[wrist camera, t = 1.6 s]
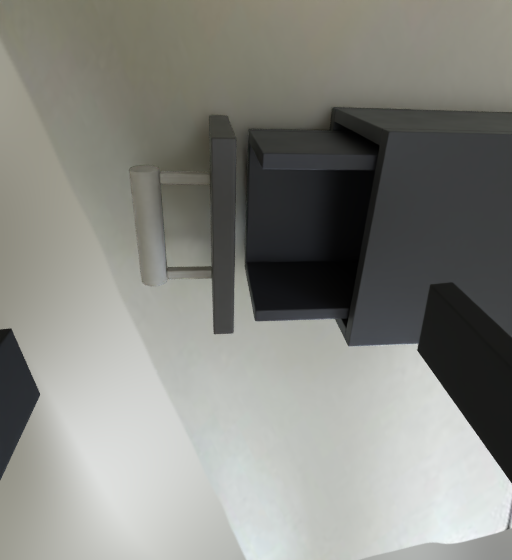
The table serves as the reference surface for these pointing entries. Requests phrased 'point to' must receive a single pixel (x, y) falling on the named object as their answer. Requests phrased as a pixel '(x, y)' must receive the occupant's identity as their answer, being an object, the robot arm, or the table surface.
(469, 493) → the table surface
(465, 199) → the cabinet
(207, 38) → the table surface
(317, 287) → the drawer
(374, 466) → the table surface
